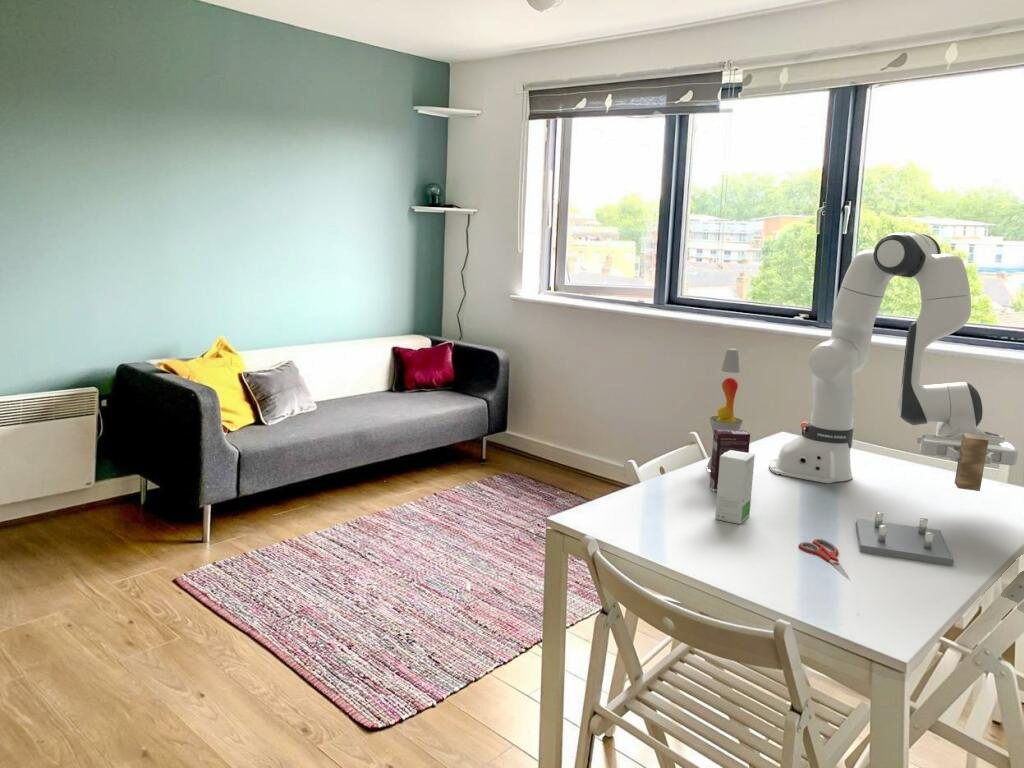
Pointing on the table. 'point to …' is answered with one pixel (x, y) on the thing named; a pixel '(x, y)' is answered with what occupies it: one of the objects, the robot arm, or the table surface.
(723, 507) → the skincare box
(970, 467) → the oak block
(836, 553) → the scissors
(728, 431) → the supplement box
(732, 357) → the lava lamp
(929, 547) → the standoff pins
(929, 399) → the robot arm
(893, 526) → the plate
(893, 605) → the table surface
